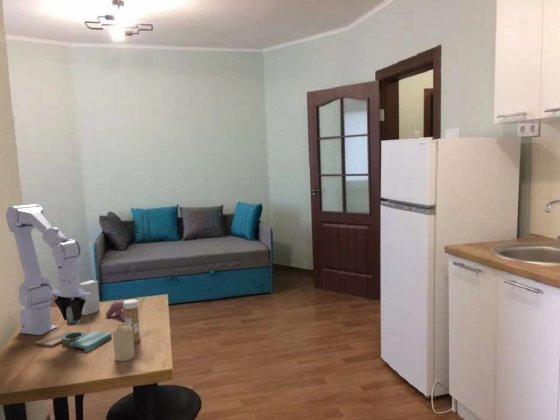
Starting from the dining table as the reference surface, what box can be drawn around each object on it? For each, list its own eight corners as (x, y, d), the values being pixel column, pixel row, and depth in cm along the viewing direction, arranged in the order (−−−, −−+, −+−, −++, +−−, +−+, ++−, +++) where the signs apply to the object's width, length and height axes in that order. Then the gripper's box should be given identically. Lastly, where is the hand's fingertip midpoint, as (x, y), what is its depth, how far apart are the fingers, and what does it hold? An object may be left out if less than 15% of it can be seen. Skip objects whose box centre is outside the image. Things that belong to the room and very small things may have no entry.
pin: (64, 325, 148) (63, 306, 147) (72, 321, 151) (71, 303, 151) (73, 326, 147) (72, 307, 146) (81, 322, 150) (80, 304, 150)
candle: (123, 363, 133) (121, 329, 131) (110, 359, 135) (108, 326, 134) (138, 355, 137) (136, 323, 136) (126, 352, 140) (123, 320, 139)
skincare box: (93, 309, 182) (90, 279, 180) (100, 311, 179) (98, 280, 178) (79, 314, 176) (76, 283, 175) (86, 315, 174) (84, 284, 173)
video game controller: (131, 322, 170) (136, 303, 172) (121, 320, 166) (127, 301, 168) (113, 318, 175) (118, 300, 177) (103, 316, 171) (109, 297, 173)
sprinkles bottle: (142, 341, 148) (139, 301, 146) (127, 345, 145) (125, 304, 144) (138, 337, 151) (135, 297, 150) (124, 340, 149) (121, 300, 147)
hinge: (35, 344, 148) (34, 338, 147) (61, 332, 158) (61, 326, 158) (88, 351, 141) (87, 345, 141) (111, 338, 151) (111, 332, 151)
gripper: (96, 276, 149) (99, 317, 150) (60, 274, 153) (63, 313, 155) (80, 282, 142) (83, 324, 143) (43, 279, 146) (47, 320, 148)
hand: (72, 319), depth 149 cm, fingers closed on pin, 4 cm apart
